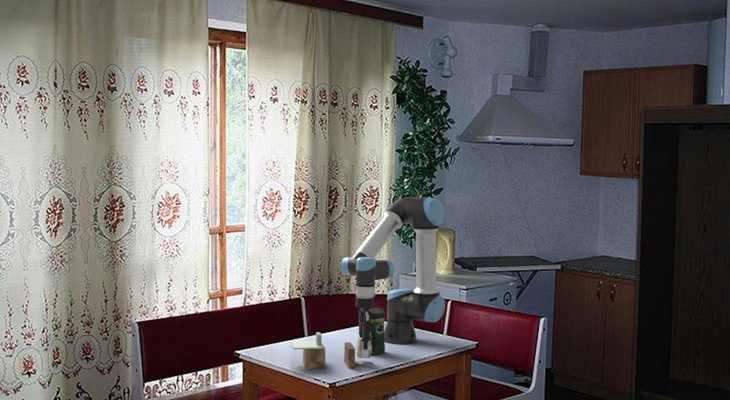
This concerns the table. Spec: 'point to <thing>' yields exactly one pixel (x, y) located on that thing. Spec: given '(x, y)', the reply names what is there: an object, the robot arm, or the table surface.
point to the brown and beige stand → (317, 357)
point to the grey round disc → (363, 363)
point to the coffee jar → (377, 331)
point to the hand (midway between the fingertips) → (363, 355)
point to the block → (361, 348)
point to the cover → (309, 343)
